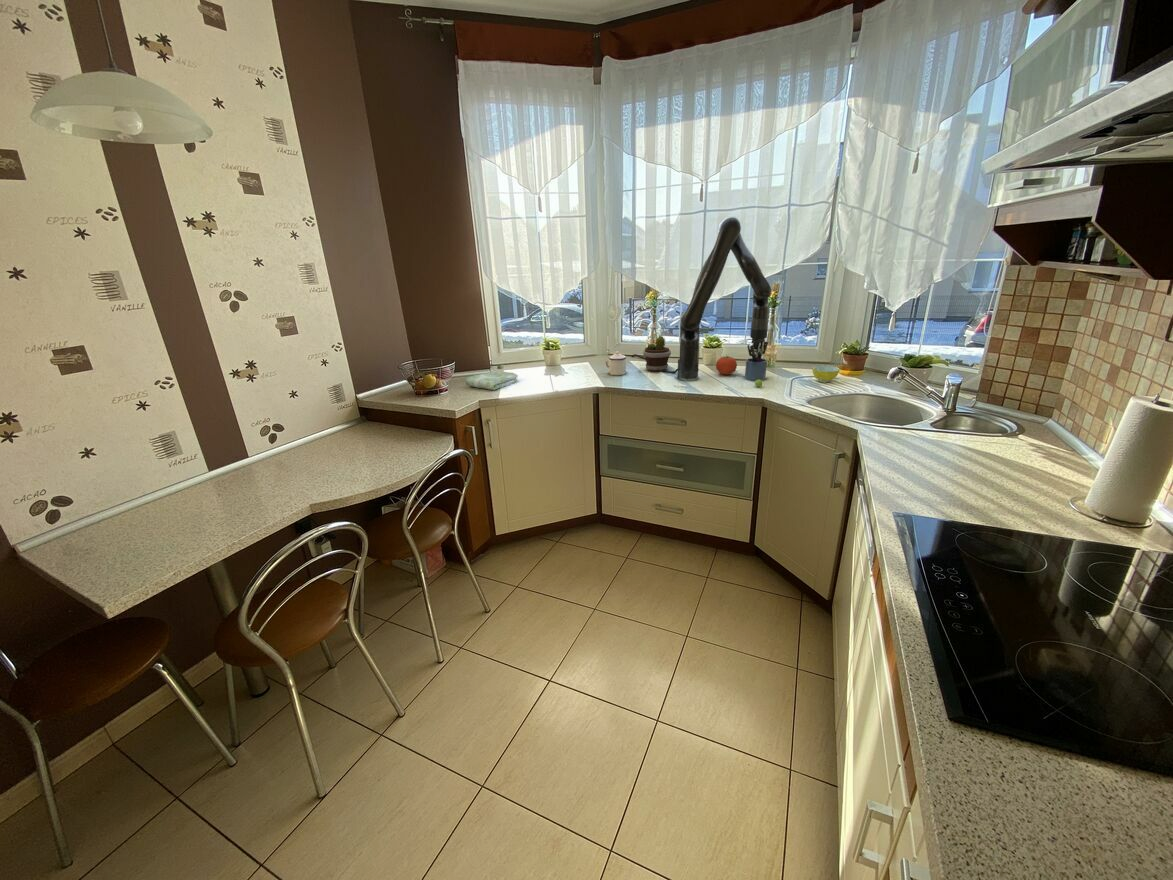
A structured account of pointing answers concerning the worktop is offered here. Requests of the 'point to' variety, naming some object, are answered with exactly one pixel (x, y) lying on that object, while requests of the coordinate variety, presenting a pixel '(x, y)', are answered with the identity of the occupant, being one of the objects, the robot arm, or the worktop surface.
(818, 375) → the bowl
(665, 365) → the flowerpot
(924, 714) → the worktop surface
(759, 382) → the green grape
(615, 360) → the teacup with lid
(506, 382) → the towel
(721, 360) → the tomato
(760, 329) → the robot arm
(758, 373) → the cup
